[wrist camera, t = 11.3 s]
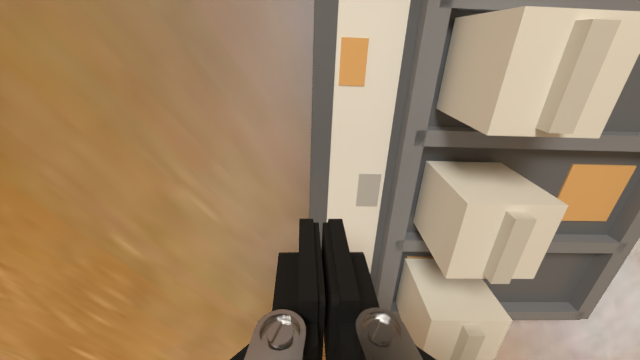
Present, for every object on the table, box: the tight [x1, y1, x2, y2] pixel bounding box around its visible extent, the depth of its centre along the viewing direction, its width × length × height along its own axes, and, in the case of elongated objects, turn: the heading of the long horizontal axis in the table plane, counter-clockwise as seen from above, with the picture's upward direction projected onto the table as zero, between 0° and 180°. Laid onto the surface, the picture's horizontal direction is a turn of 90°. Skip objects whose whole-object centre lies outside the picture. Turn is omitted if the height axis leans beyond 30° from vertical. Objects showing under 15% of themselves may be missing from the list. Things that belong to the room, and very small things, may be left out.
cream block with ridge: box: [413, 161, 569, 284], centre depth 14 cm, size 4×4×5 cm
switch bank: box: [309, 0, 640, 320], centre depth 16 cm, size 20×19×2 cm
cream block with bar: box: [436, 6, 640, 138], centre depth 11 cm, size 4×4×5 cm
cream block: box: [396, 258, 512, 360], centre depth 16 cm, size 4×4×5 cm
